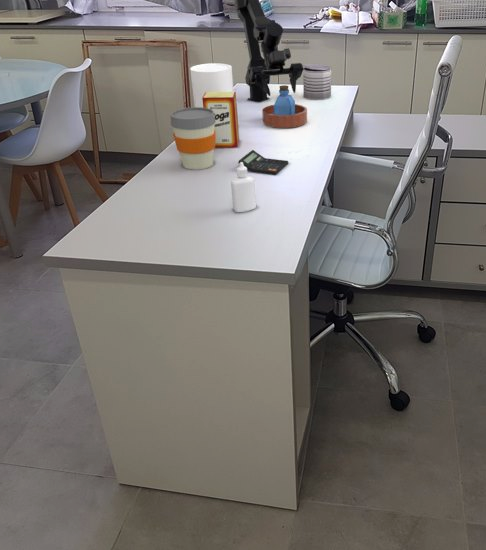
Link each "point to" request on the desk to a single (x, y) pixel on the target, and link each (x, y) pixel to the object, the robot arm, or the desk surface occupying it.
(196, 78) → the canister
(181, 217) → the desk surface
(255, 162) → the calculator
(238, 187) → the eye dropper bottle
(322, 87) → the can
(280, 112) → the perfume bottle
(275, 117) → the bowl
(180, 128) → the reusable coffee cup
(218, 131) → the baking soda box
